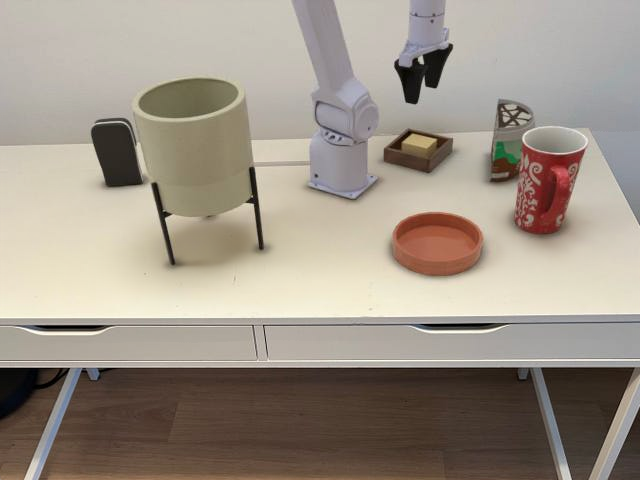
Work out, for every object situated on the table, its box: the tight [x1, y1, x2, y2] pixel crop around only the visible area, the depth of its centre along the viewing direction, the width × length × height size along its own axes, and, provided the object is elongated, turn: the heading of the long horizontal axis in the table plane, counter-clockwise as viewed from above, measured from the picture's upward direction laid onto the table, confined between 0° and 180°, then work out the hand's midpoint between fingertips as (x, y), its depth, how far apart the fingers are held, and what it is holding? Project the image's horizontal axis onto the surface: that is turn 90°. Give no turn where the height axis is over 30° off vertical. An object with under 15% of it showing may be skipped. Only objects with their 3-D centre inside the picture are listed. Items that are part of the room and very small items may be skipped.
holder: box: [382, 128, 454, 174], centre depth 119 cm, size 9×9×2 cm
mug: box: [513, 125, 590, 235], centre depth 97 cm, size 13×9×14 cm
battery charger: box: [90, 117, 144, 187], centre depth 116 cm, size 7×4×11 cm, turn 92°
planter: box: [131, 74, 265, 266], centre depth 96 cm, size 15×16×23 cm
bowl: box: [391, 211, 484, 276], centre depth 98 cm, size 13×13×2 cm
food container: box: [489, 98, 536, 183], centre depth 111 cm, size 12×6×10 cm, turn 168°
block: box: [402, 134, 437, 158], centre depth 119 cm, size 5×4×2 cm
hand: (421, 94), depth 117 cm, fingers open, 7 cm apart
